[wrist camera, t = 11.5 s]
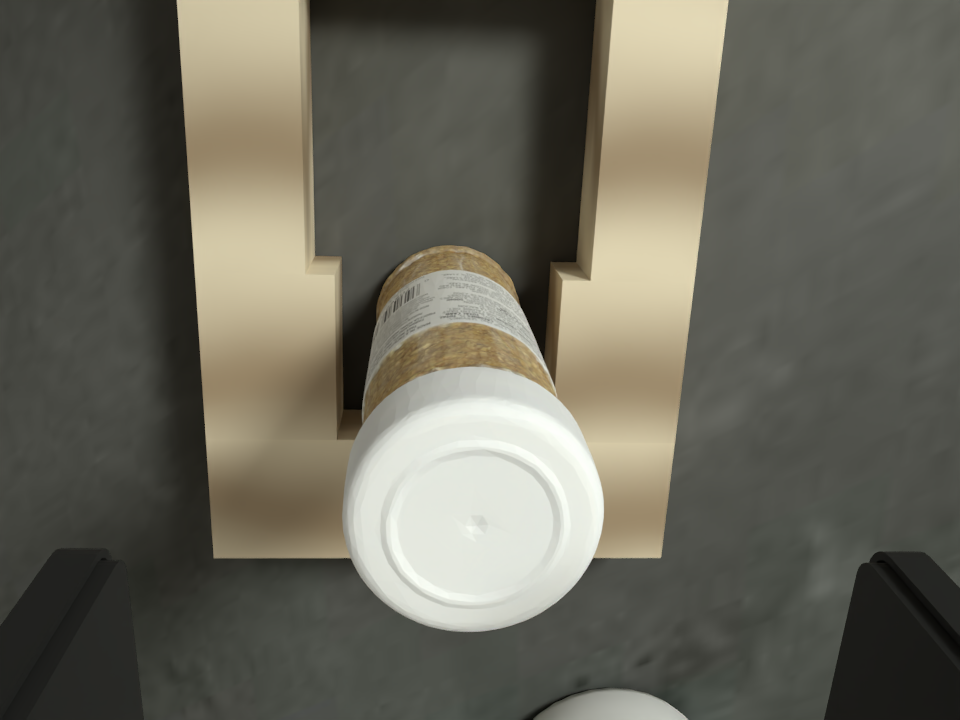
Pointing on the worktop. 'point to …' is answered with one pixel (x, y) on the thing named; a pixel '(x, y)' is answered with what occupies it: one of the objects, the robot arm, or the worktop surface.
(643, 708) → the milk bottle
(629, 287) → the keyhole board
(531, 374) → the spice jar
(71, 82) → the worktop surface
